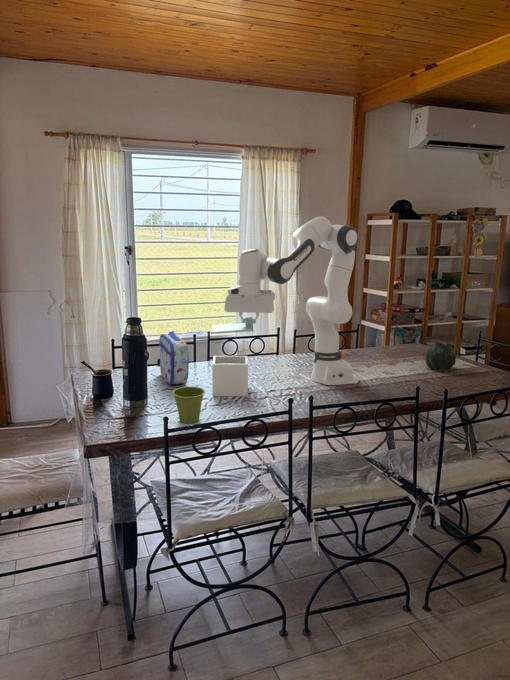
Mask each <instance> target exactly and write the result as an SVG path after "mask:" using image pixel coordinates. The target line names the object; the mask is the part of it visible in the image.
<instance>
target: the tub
mask: <svg viewBox="0 0 510 680" xmlns="http://www.w3.org/2000/svg"><path fill="white" fill-rule="evenodd" d="M248 361H249V360H248V355H213V358H212V365H211V368H212V371H211V372H212V373H211V375H212V377H211V378H212V397H248V396H249V388H248V387H249V362H248ZM226 362H235V363H238V364H222V363H226Z"/></svg>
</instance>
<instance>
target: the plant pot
mask: <svg viewBox="0 0 510 680" xmlns="http://www.w3.org/2000/svg"><path fill="white" fill-rule="evenodd" d="M205 393H206V390H205V389H204V388H202V387H200V386H199V387H198V386H181V387H178V388H175V389H174V390H173V391H172V395H173V396H174V400H175V402H176V409H177V412H178V418H179V422H180V423H183V424H188V423H189V424H193V423H197V422H198V421H200V416H201V409H202V403H203V398H204V394H205Z"/></svg>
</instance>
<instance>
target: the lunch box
mask: <svg viewBox="0 0 510 680" xmlns="http://www.w3.org/2000/svg"><path fill="white" fill-rule="evenodd" d="M158 341H159V342H158V344H159V358H157V362H156V364H157V367H158V368H159V367H160V368H159V369H160V374H161V376H162V377H163V379H164V381H165V382H166V383H167V384H169V385H181V384H186V383H187V382H188V379H189V367H190V365H189V364H190V359H189V357H190V355H189V349H188V345H187V343H186V341H185V340H183V339H182V337H180V336H179V335H178V334H177V333H175V331H174V330H172V331H168V333H163V334H160V336H159V340H158Z"/></svg>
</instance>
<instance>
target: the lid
mask: <svg viewBox="0 0 510 680" xmlns="http://www.w3.org/2000/svg"><path fill="white" fill-rule="evenodd" d="M244 318H245V323H242V322H239V323H221V324H213V325H212V326H211V330H210V334H211V335H213V334H214V335H215V334H216V335H217V334H229V333H230V334H232V333H247V332H249V333H250V332H254V323H253V319H254V318H253V315H251V314H250V315H244Z"/></svg>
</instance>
